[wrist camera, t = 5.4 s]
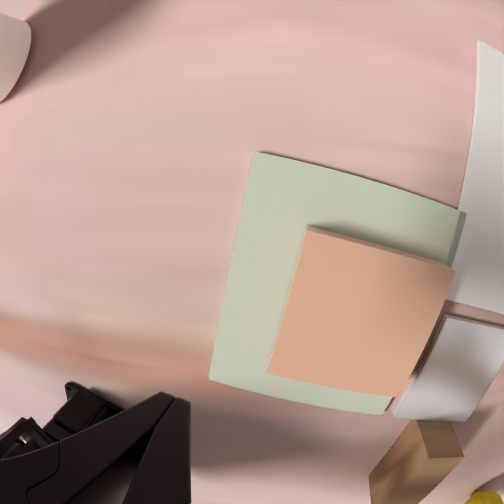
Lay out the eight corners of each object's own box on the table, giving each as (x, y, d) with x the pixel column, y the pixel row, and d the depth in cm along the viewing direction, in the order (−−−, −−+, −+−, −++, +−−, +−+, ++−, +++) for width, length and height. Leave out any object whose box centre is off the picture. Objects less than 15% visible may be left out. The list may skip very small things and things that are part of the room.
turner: (415, 476, 19) (423, 512, 15) (348, 474, 20) (350, 515, 16) (513, 329, 15) (546, 360, 11) (443, 313, 16) (475, 350, 11)
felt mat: (380, 411, 18) (381, 415, 17) (209, 375, 19) (208, 379, 19) (463, 212, 14) (467, 213, 14) (254, 151, 15) (253, 151, 15)
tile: (269, 357, 17) (392, 381, 17) (266, 373, 16) (397, 397, 15) (306, 224, 15) (443, 262, 14) (306, 230, 14) (455, 271, 13)
